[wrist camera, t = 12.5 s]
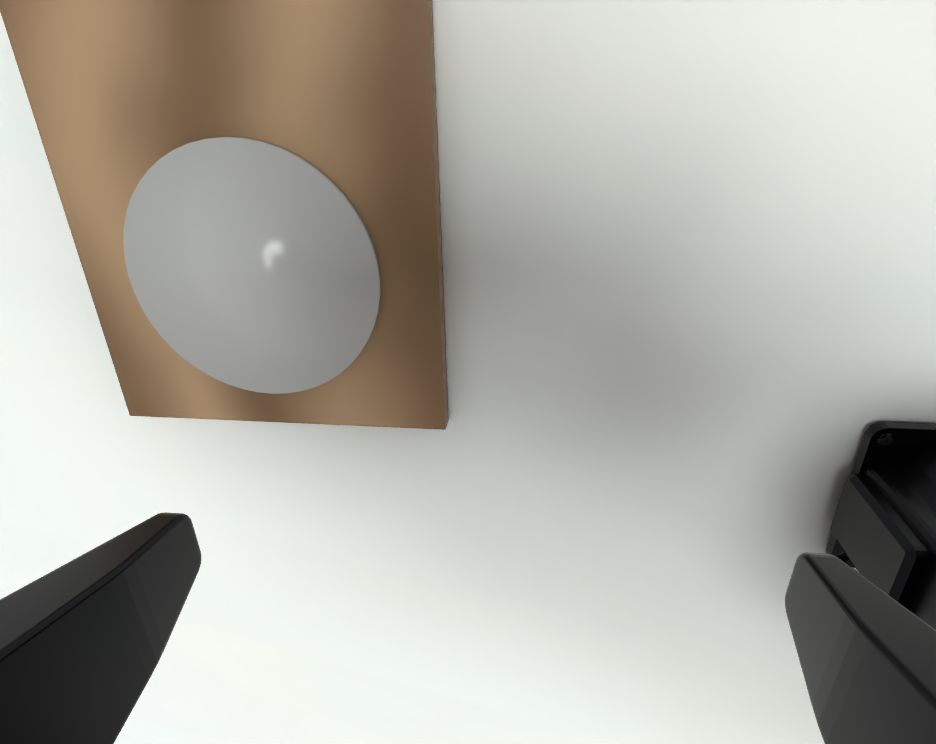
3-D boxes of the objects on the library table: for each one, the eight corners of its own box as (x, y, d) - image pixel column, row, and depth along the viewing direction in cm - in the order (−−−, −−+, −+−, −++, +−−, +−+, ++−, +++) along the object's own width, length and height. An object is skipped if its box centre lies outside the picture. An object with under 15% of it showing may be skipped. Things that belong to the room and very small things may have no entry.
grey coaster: (368, 134, 18) (364, 135, 17) (391, 393, 22) (388, 398, 21) (97, 138, 19) (88, 138, 18) (166, 384, 23) (160, 389, 22)
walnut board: (406, -634, 12) (398, -680, 11) (448, 418, 23) (445, 429, 22) (-151, -544, 13) (-190, -580, 13) (142, 405, 24) (130, 415, 24)
